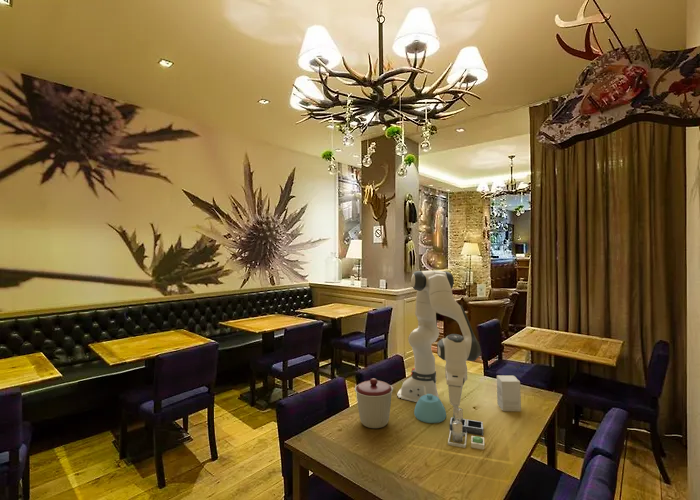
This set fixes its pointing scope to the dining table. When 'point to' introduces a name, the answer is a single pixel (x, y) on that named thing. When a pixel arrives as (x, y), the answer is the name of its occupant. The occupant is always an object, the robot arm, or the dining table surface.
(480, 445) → the box
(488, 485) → the dining table surface
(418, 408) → the sugar bowl
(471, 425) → the dark two-compartment tray
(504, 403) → the supplement box
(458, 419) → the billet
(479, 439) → the button
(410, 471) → the dining table surface
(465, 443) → the tote
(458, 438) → the cylinder
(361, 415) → the canister
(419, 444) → the dining table surface
